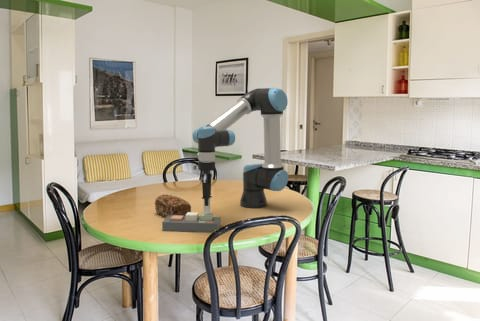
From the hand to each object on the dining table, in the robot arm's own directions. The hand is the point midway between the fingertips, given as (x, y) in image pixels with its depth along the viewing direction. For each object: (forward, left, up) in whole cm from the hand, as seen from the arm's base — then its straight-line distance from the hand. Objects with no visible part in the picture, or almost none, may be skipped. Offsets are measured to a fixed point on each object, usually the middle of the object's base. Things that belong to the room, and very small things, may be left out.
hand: (206, 212), depth 184 cm
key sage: (0, 0, -4) cm, 4 cm away
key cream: (+7, 0, -4) cm, 8 cm away
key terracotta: (+14, 0, -6) cm, 15 cm away
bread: (+21, -19, -8) cm, 29 cm away
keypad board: (+7, 0, -8) cm, 10 cm away
